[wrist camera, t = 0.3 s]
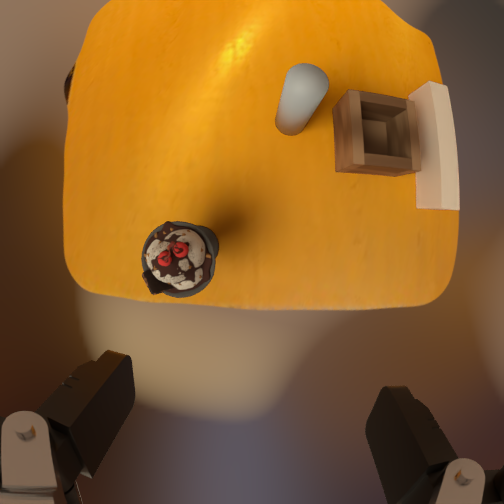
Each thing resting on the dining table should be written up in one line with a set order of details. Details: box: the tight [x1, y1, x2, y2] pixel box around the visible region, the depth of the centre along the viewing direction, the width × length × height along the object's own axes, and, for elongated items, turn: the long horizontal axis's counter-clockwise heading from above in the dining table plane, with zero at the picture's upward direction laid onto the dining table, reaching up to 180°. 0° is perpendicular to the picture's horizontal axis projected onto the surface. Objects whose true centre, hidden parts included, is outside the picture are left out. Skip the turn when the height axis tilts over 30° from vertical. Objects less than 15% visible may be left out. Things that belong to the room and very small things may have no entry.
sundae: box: [141, 221, 219, 298], centre depth 27 cm, size 7×7×15 cm
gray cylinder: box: [275, 63, 329, 136], centre depth 27 cm, size 4×4×12 cm
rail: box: [408, 81, 459, 210], centre depth 30 cm, size 16×3×6 cm, turn 0°
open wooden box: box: [333, 89, 421, 177], centre depth 30 cm, size 8×8×7 cm
